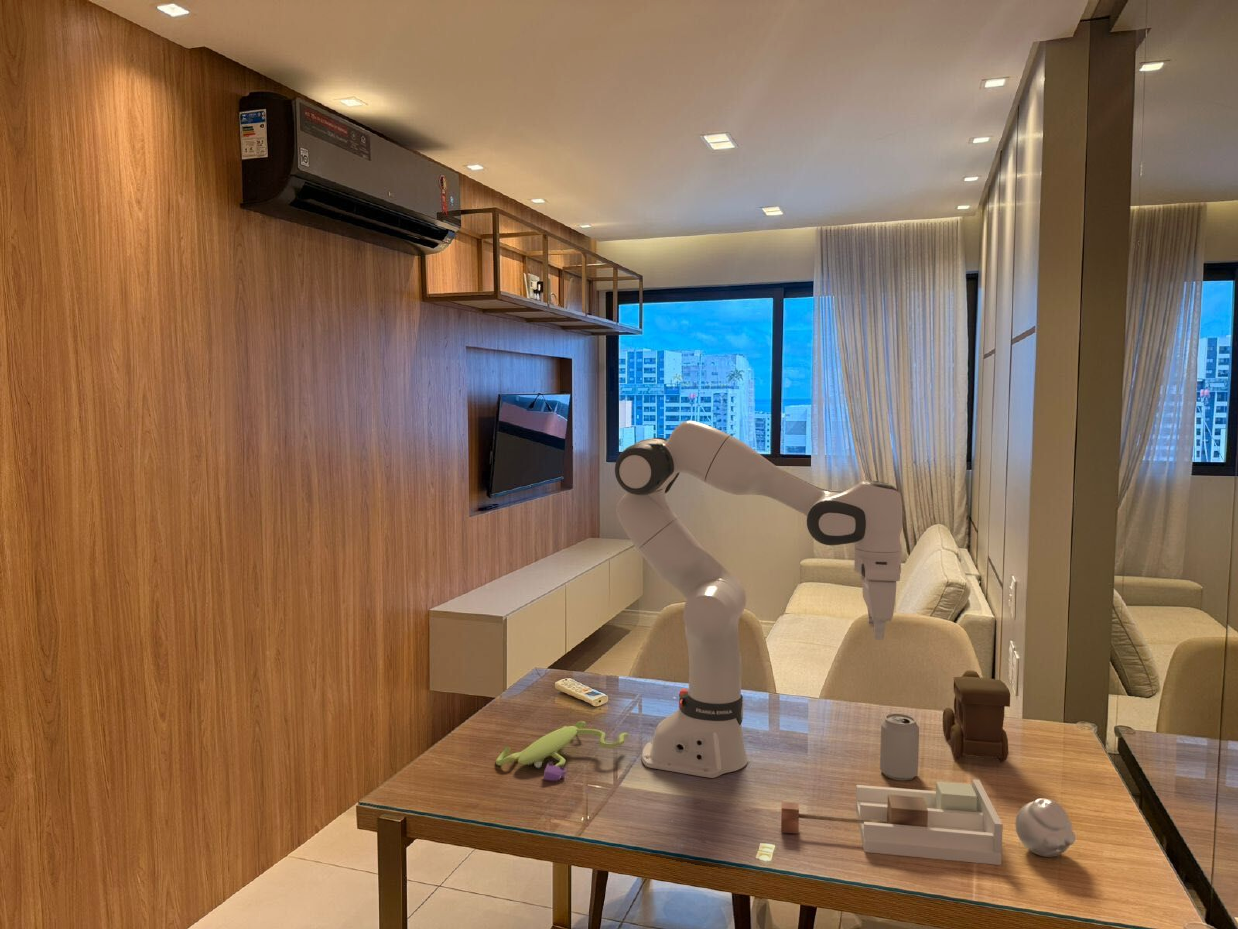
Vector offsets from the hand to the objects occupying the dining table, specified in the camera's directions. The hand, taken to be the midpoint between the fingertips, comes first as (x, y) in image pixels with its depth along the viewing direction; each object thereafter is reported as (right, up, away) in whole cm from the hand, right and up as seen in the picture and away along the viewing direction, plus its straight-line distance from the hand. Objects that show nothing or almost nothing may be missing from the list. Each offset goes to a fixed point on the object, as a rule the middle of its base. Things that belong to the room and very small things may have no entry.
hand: (875, 632), depth 171 cm
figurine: (-63, -31, +15) cm, 71 cm away
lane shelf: (+3, -33, -17) cm, 37 cm away
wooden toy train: (+28, -30, +20) cm, 45 cm away
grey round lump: (+22, -33, -24) cm, 46 cm away
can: (+7, -31, +7) cm, 32 cm away
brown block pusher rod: (-10, -32, -18) cm, 38 cm away
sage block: (+10, -30, -15) cm, 35 cm away
